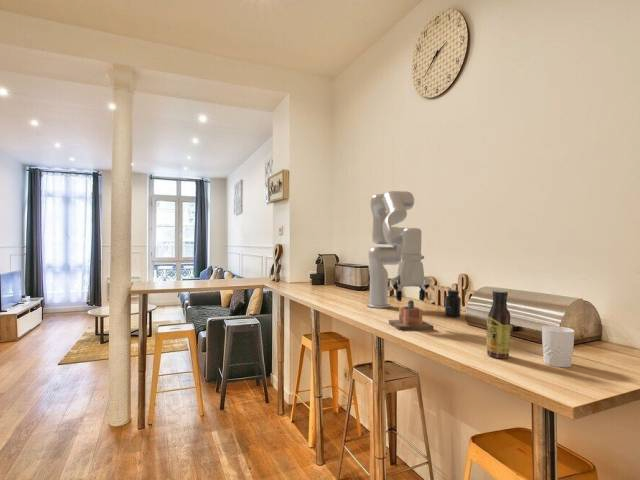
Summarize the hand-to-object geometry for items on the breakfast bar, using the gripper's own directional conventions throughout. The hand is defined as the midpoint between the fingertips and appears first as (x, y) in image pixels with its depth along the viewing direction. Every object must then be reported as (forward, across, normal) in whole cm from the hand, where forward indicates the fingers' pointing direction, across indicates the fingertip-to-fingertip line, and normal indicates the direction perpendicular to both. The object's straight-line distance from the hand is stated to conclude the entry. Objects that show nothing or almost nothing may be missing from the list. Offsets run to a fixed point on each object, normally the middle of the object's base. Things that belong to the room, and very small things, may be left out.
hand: (410, 300), depth 149 cm
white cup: (+10, -24, +49) cm, 55 cm away
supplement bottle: (+11, -29, -18) cm, 36 cm away
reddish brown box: (+9, 0, +1) cm, 9 cm away
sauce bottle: (+10, -11, +41) cm, 43 cm away
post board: (+10, 0, +1) cm, 11 cm away
